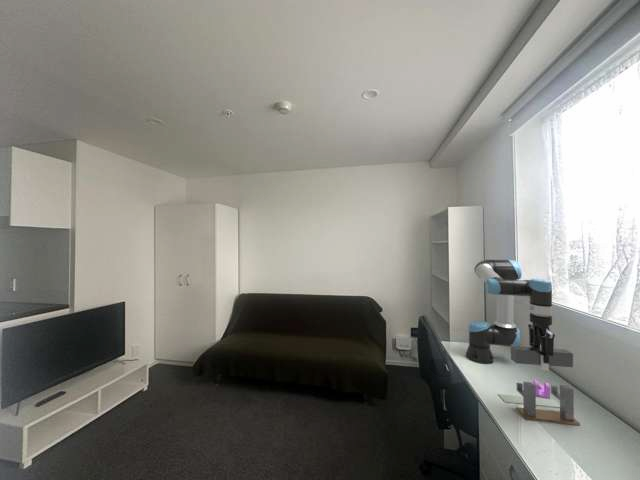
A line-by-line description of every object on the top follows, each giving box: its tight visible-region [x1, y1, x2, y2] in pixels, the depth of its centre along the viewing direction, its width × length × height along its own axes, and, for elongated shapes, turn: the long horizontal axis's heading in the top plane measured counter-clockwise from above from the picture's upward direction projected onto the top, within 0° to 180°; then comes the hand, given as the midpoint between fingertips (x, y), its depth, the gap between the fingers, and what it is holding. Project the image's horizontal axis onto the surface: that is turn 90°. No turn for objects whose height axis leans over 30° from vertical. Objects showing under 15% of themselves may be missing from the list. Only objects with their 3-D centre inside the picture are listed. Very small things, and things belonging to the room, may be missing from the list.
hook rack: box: [515, 381, 581, 426], centre depth 112 cm, size 10×20×14 cm, turn 81°
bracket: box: [531, 379, 551, 399], centre depth 130 cm, size 13×6×7 cm, turn 150°
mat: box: [497, 393, 560, 409], centre depth 121 cm, size 6×24×1 cm, turn 81°
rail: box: [510, 345, 574, 368], centre depth 114 cm, size 4×22×6 cm, turn 81°
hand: (540, 367), depth 114 cm, fingers closed on rail, 4 cm apart
